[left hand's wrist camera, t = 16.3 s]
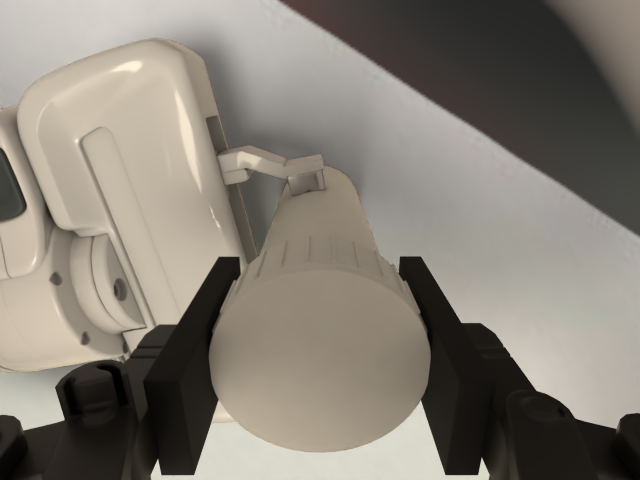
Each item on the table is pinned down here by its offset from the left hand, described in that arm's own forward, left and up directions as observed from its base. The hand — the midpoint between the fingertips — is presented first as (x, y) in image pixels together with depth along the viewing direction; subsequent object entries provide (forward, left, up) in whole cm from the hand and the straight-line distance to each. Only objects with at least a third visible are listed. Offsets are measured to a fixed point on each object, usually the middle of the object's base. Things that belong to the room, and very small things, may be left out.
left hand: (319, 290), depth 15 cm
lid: (0, 0, +4) cm, 4 cm away
